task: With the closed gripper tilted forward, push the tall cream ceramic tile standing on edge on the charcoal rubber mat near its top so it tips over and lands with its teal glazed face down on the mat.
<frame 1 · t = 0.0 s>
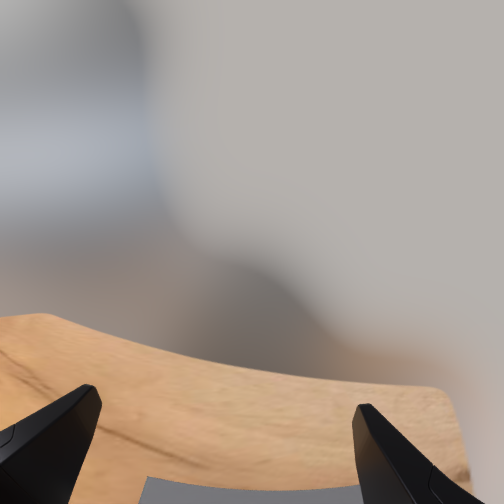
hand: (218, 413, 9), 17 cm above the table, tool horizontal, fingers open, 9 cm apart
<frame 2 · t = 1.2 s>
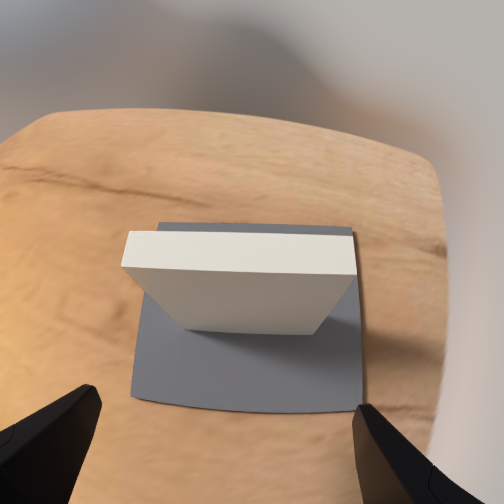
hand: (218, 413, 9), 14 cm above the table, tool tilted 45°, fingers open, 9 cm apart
tile: (248, 322, 23), point 1 cm above the table, touching mat
mat: (249, 312, 24), on the table
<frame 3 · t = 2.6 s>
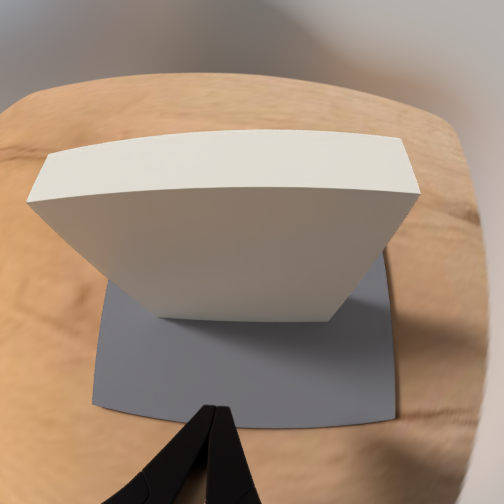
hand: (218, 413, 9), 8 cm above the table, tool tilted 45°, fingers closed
tile: (241, 306, 17), point 1 cm above the table, touching mat
mat: (242, 293, 18), on the table
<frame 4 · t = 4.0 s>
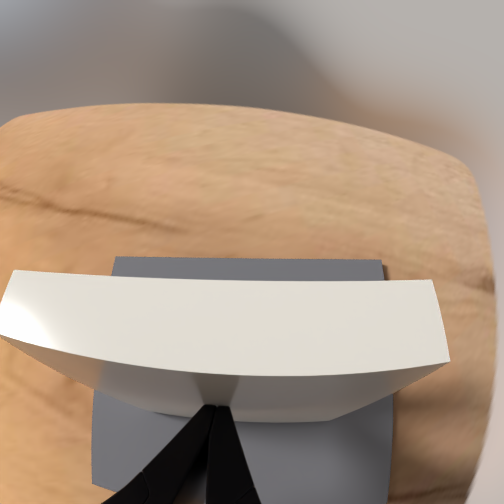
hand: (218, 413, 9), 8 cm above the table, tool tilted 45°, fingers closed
tile: (236, 405, 15), point 1 cm above the table, tilted 9°, touching mat
mat: (238, 389, 16), on the table
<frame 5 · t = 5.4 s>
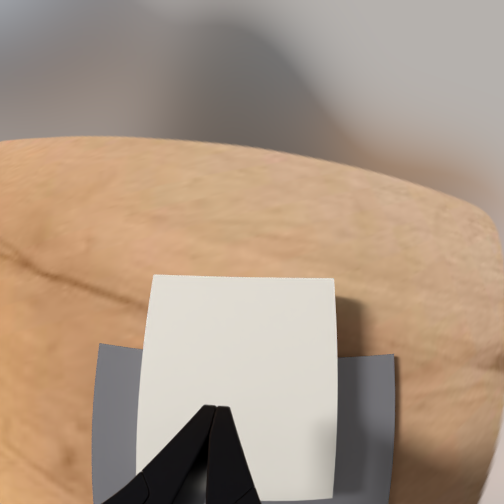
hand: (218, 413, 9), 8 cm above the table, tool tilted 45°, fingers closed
tile: (232, 493, 12), point 2 cm above the table, tilted 90°, touching mat
mat: (235, 486, 13), on the table
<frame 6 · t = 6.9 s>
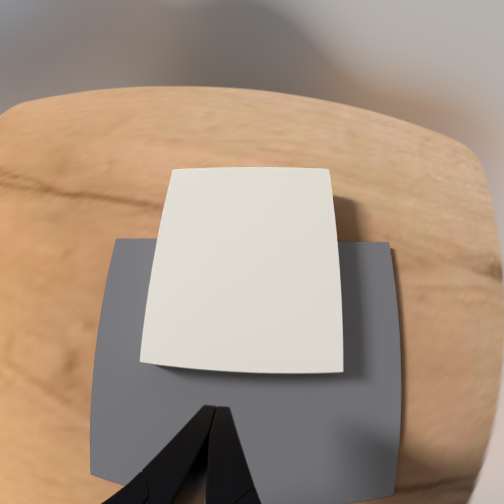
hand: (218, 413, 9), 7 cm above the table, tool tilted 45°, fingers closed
tile: (239, 372, 14), point 2 cm above the table, tilted 90°, touching mat
mat: (242, 374, 16), on the table
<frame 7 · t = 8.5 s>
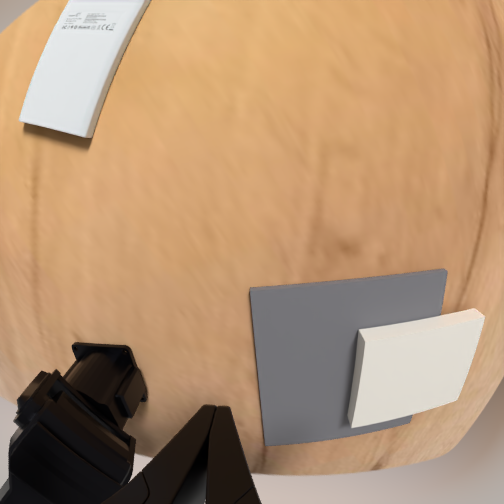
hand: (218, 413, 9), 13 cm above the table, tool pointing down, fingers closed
tile: (355, 384, 22), point 2 cm above the table, tilted 90°, touching mat
mat: (350, 372, 24), on the table
external hard drive: (84, 59, 18), on the table
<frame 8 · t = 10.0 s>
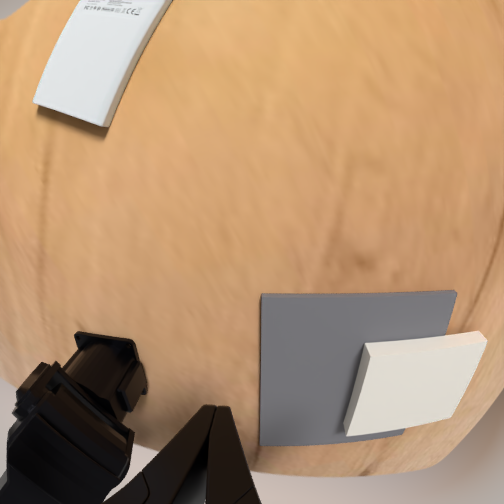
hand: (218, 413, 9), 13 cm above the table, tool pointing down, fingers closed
tile: (355, 395, 22), point 2 cm above the table, tilted 90°, touching mat
mat: (350, 382, 24), on the table
external hard drive: (106, 42, 17), on the table
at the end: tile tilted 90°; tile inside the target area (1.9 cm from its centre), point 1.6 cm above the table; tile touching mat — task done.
